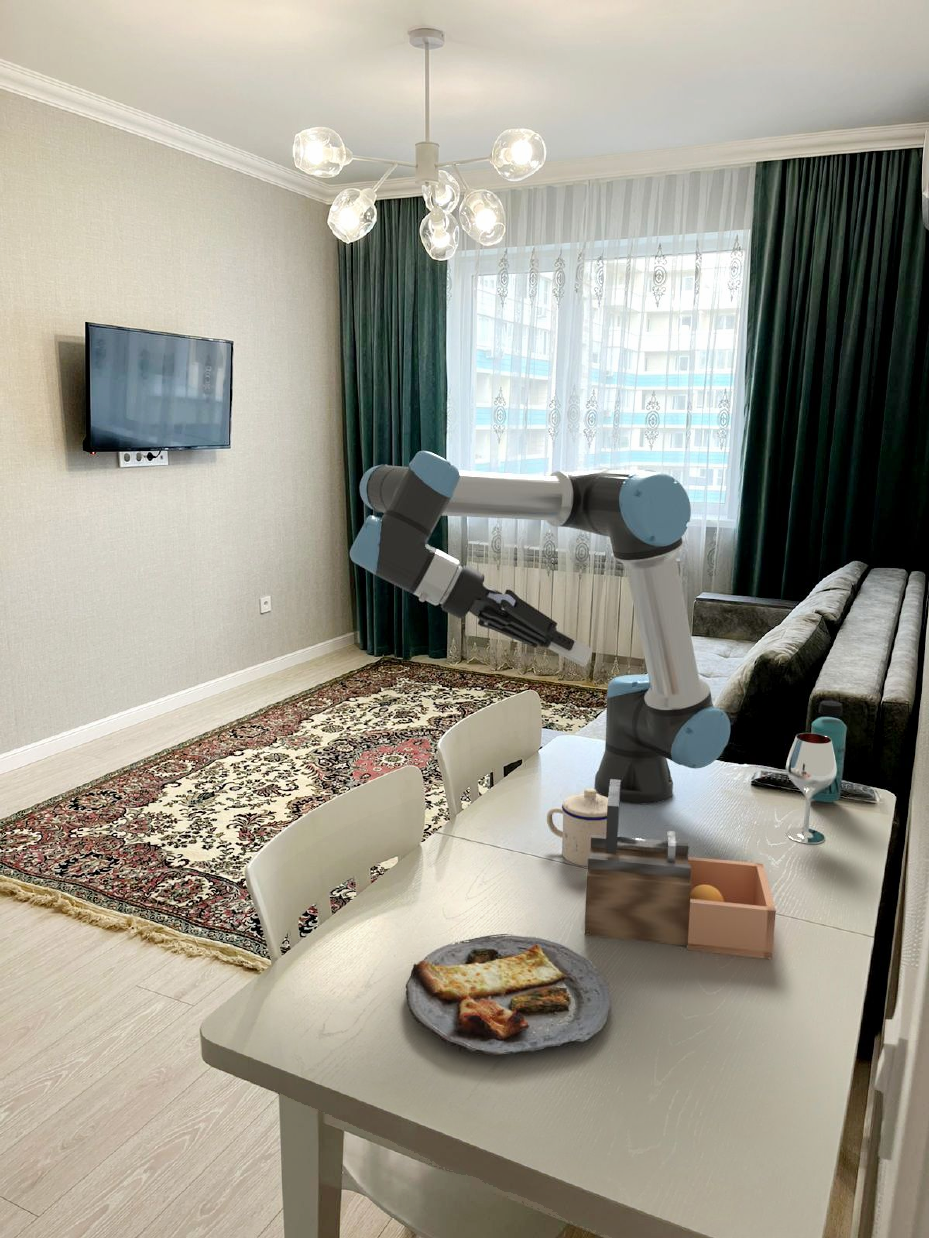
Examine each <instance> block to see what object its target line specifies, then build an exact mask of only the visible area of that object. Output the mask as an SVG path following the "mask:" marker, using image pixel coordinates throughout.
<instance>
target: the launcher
mask: <svg viewBox="0 0 929 1238" xmlns="http://www.w3.org/2000/svg"><path fill="white" fill-rule="evenodd" d="M675 843H676V850H675V863H667V852H656V851H645V850H634V849H623V848H617V853H616V854H608V853H605V851H606V836H601V835H591V848H590V855H588V866H587V870H586V883H585V885H586V886H585V907H584V908H585V910H584V911H585V913H584V935H585V936H594V937H601V938H602V937H604V938H613V939H622V940H629V941H630V940H631V941H640V942H641V941H642V942H648V943H658V944H667V945H676V946H685V947H686V946H687V940H688V924H689V907H690V892H691V881H690V874H691V865H689V860H688V857H689V848H690V846H689V842H678V841H675Z"/></svg>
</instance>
